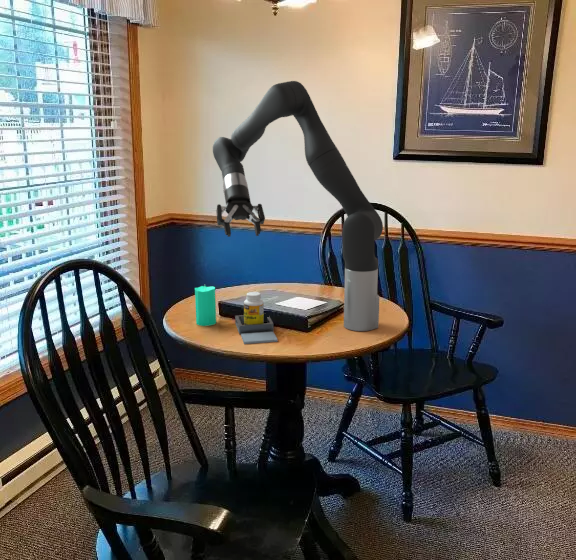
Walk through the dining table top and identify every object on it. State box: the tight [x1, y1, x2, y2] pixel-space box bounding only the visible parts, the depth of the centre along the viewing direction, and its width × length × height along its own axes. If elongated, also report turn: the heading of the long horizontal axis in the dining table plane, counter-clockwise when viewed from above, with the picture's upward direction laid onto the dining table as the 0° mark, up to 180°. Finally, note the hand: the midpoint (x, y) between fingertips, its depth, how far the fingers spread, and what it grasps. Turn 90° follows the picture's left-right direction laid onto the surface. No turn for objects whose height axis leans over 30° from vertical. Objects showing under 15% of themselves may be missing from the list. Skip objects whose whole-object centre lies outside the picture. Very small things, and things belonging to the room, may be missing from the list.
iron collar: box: [234, 314, 275, 336], centre depth 169 cm, size 10×10×2 cm
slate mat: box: [240, 332, 278, 345], centre depth 160 cm, size 9×7×1 cm
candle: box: [194, 285, 217, 327], centre depth 173 cm, size 6×6×12 cm
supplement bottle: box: [243, 291, 265, 325], centre depth 168 cm, size 6×6×10 cm
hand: (243, 234), depth 175 cm, fingers open, 8 cm apart
